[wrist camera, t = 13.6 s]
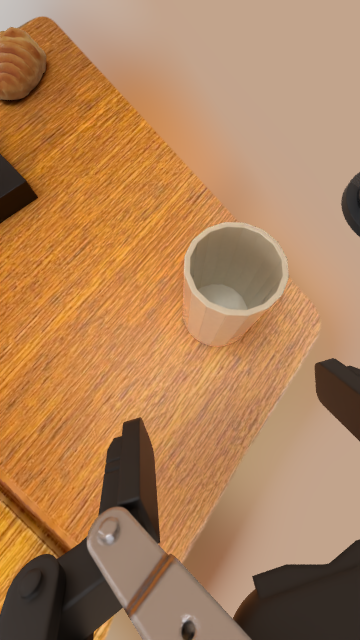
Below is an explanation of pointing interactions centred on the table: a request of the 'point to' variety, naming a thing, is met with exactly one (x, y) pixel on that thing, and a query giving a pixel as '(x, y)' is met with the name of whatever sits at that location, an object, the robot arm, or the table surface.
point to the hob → (12, 190)
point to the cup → (230, 281)
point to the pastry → (19, 64)
